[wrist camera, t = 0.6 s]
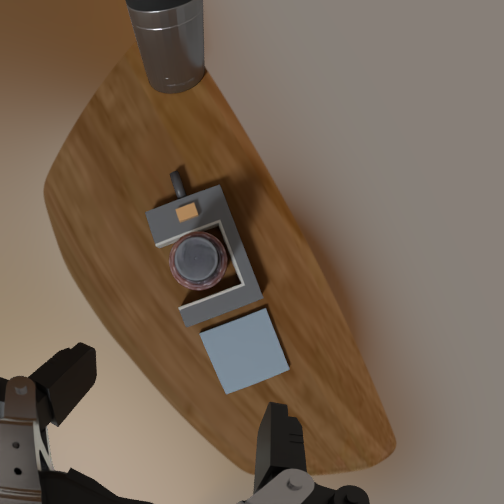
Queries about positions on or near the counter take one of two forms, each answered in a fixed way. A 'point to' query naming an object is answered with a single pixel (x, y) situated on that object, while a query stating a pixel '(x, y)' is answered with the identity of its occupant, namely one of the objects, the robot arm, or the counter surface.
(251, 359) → the coaster
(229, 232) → the grey c-shaped bracket
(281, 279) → the counter surface
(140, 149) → the counter surface
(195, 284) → the supplement bottle
